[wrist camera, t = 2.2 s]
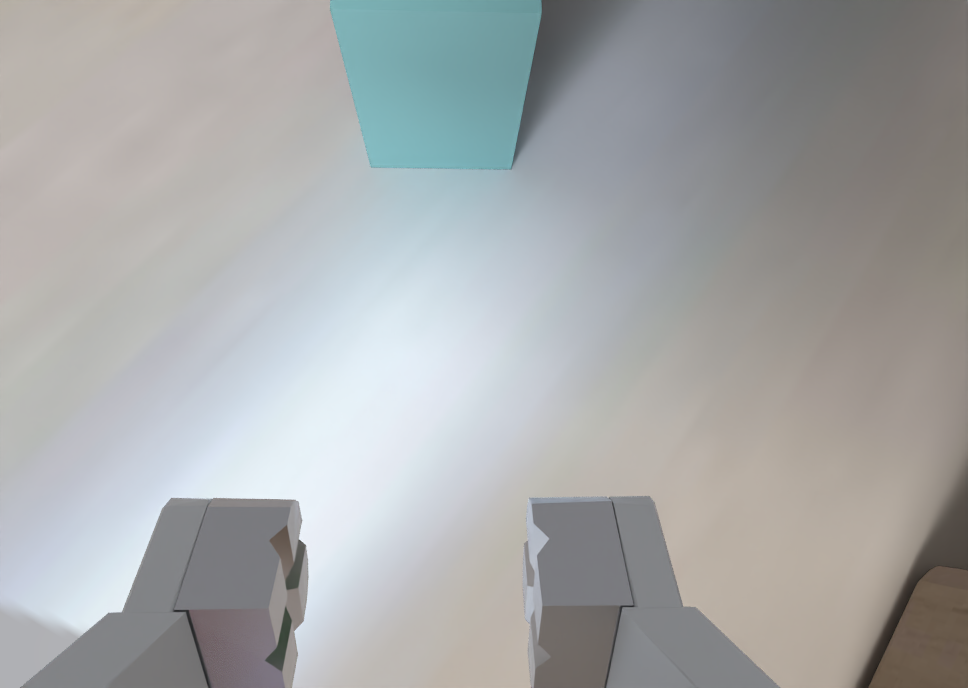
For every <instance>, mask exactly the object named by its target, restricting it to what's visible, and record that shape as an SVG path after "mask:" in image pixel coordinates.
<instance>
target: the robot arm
mask: <svg viewBox="0 0 968 688" xmlns="http://www.w3.org/2000/svg"><path fill="white" fill-rule="evenodd" d="M301 523H302V518H301V512H300V507H299V502H298V501H296V500H280V499H230V498H213V499H194V498H171V499H170V500H169V501H168V503H167V504H166V505H165V506H164V507H163V508H162V511H161V513H160V516H159V518H158V521H157V523H156V526H155V529H154V531H153V534H152V536H151V539H150V541H149V544H148V547H147V549H146V552H145V554H144V557H143V559H142V562H141V565H140V567H139V570H138V572H137V575H136V577H135V580H134V583H133V585H132V588H131V590H130V593H129V595H128V598H127V600H126V603H125V606H124V608H123V611H122V612H116V613H108V614H107V615H106V616H104V617H103V618H102V619H101V620H100V621H98V622H97V623H96V624H95V625H94V626H93V627H91V628H90V629H89V630H88V631H87V632H85V633H84V634H83V635H82V636H81V637H80V638H78V639H77V640H76V641H75V642H74V643H72V644H71V645H70V646H69V647H68V648H67V649H65V650H64V651H63V652H62V653H61V654H59V655H58V656H57V657H56V658H55V659H54V660H52V661H51V662H50V663H49V664H48V665H46V666H45V667H44V668H43V669H42V670H40V671H39V672H38V673H37V674H36V675H34V676H33V677H32V678H31V679H30V680H29V681H27V682H26V683H25V684H24V685H23V686H21V687H20V688H292V684H293V678H294V672H295V667H296V661H297V656H298V652H297V646H296V640H295V634H294V631H295V630H296V628H297V627H298V626H299V625H300V624H301V623H302V622H303V621H304V615H305V608H306V602H307V590H308V557H307V550H306V545H305V544H304V543H303V542H301V541H300V540H299V534H300V529H301ZM526 524H527V536H528V541H527V542H525V543H524V555H523V598H524V612H525V620H526V621H527V622H528V623H529V624H530V629H529V641H528V661H529V671H530V682H531V688H780V687H779V686H778V685H777V684H776V683H775V682H774V681H773V680H772V679H771V678H770V677H769V676H767V675H766V674H765V673H764V672H763V671H762V670H761V669H760V668H759V667H758V666H757V665H756V664H755V663H754V662H753V661H752V660H751V659H750V658H749V657H748V656H747V655H745V654H744V653H743V652H742V651H741V650H740V649H739V648H738V647H737V646H736V645H735V644H734V643H733V642H732V641H731V640H730V639H729V638H728V637H727V636H726V635H725V634H723V633H722V632H721V631H720V630H719V629H718V628H717V627H716V626H715V625H714V624H713V623H712V622H711V621H710V620H709V619H708V618H707V617H706V616H705V615H704V614H702V613H701V612H700V611H699V610H698V609H697V608H696V607H683V604H682V600H681V597H680V593H679V590H678V586H677V582H676V579H675V575H674V571H673V568H672V564H671V560H670V557H669V553H668V550H667V546H666V542H665V539H664V535H663V531H662V528H661V524H660V520H659V517H658V513H657V510H656V506H655V502H654V501H653V500H652V499H651V498H650V496H630V497H609V498H608V497H547V498H529V500H528V505H527V515H526Z"/></svg>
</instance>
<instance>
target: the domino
mask: <svg viewBox="0 0 968 688" xmlns="http://www.w3.org/2000/svg"><path fill="white" fill-rule="evenodd" d="M330 11H331V14H332V18H333V22H334V26H335V30H336V34H337V38H338V42H339V45H340V49H341V53H342V57H343V61H344V65H345V69H346V73H347V76H348V80H349V84H350V88H351V92H352V96H353V100H354V104H355V107H356V111H357V115H358V119H359V123H360V127H361V131H362V135H363V139H364V142H365V146H366V150H367V154H368V158H369V162H370V166H371V167H378V168H451V169H511V167H512V162H513V157H514V152H515V147H516V142H517V137H518V132H519V126H520V121H521V116H522V111H523V106H524V101H525V96H526V91H527V86H528V81H529V75H530V70H531V65H532V60H533V55H534V50H535V45H536V40H537V35H538V29H539V24H540V19H541V14H542V2H541V0H330Z"/></svg>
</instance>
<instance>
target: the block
mask: <svg viewBox="0 0 968 688" xmlns="http://www.w3.org/2000/svg"><path fill="white" fill-rule="evenodd" d="M868 688H968V570H965V569H959V568H951V567H944V566H937V567H935V568H932V569H930V570H929V571H928V572H927V573H926V574H925V575H924V576H923V577H922V578H921V579H920V580H919V581H918V582H917V584H916V586H915V588H914V591H913V593H912V595H911V597H910V599H909V601H908V603H907V606H906V608H905V610H904V612H903V614H902V616H901V618H900V621H899V623H898V625H897V627H896V629H895V631H894V633H893V636H892V638H891V640H890V642H889V644H888V646H887V648H886V651H885V653H884V655H883V657H882V659H881V661H880V663H879V666H878V668H877V670H876V672H875V674H874V676H873V678H872V681H871V683H870V685H869V687H868Z"/></svg>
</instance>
